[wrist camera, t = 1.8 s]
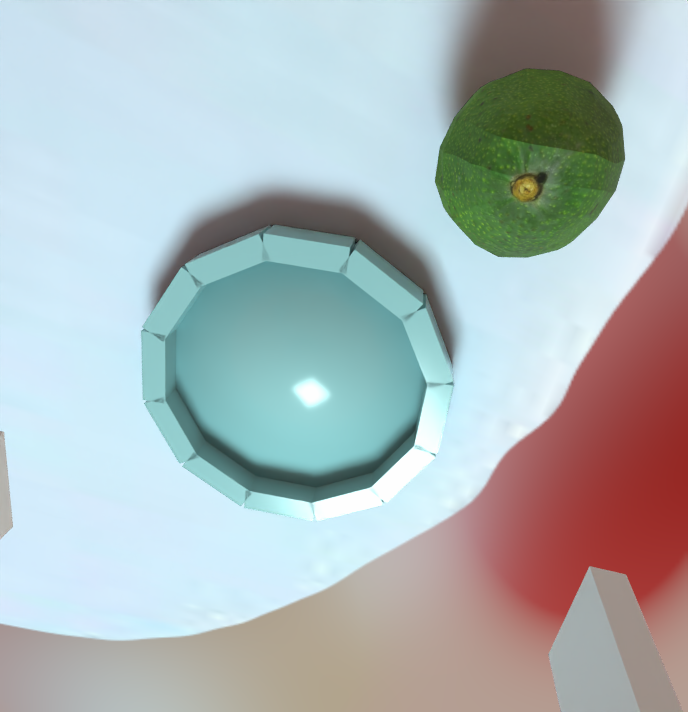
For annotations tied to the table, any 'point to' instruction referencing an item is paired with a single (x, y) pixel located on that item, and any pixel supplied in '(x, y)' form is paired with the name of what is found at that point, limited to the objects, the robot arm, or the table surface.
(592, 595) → the robot arm
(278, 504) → the dish
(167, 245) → the table surface
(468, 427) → the table surface
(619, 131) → the avocado
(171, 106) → the table surface
